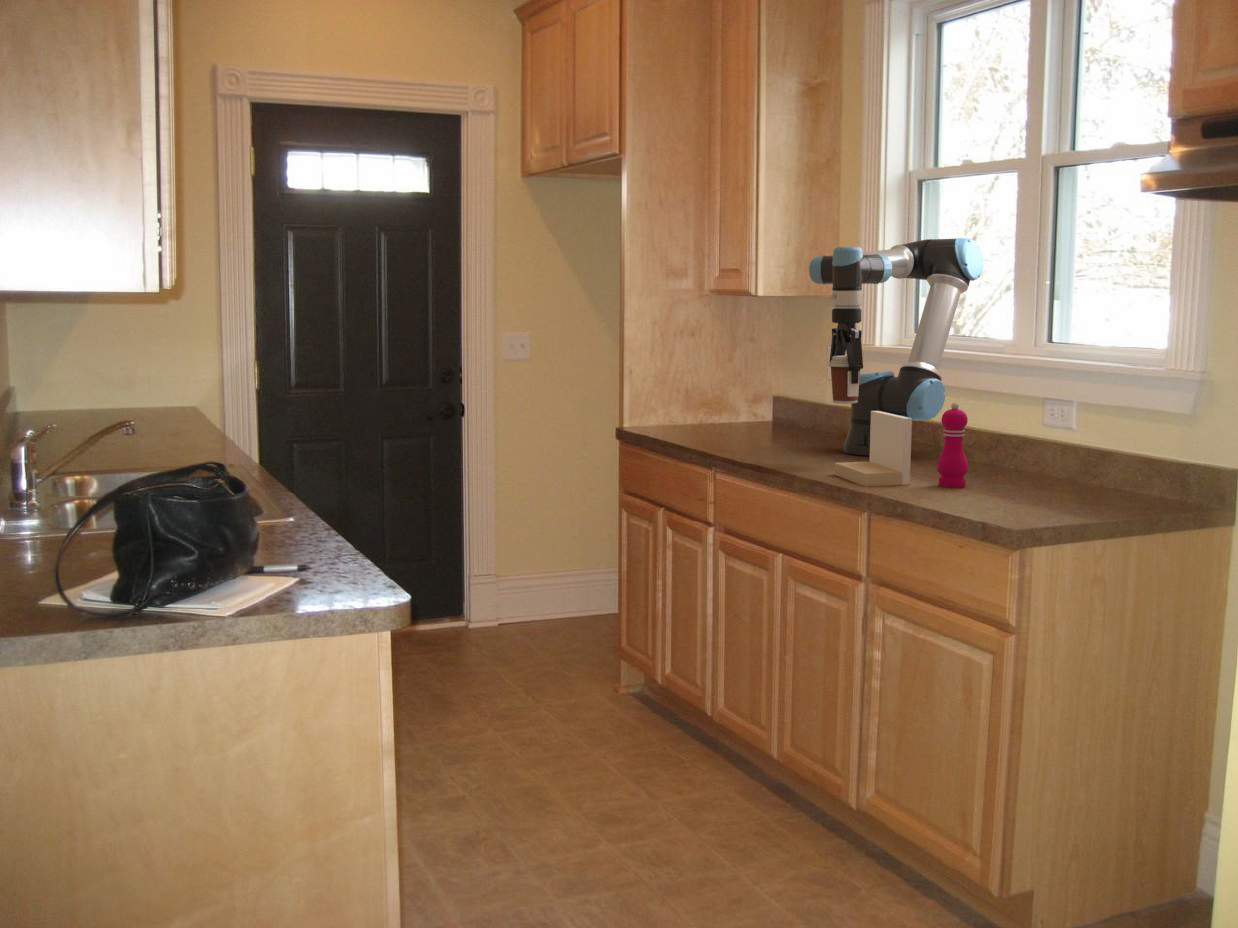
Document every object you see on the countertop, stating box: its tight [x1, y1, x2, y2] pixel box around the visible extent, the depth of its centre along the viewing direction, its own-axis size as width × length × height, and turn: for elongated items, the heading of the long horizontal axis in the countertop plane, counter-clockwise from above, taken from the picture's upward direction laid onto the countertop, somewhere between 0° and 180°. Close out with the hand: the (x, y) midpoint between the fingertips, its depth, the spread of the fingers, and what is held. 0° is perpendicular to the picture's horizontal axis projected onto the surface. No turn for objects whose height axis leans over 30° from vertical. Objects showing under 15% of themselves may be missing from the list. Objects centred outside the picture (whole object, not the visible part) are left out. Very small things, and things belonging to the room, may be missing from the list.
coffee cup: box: [827, 354, 862, 405], centre depth 320 cm, size 9×9×12 cm
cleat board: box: [833, 411, 913, 487], centre depth 303 cm, size 12×19×16 cm, turn 13°
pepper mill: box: [936, 402, 969, 489], centre depth 293 cm, size 7×7×20 cm
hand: (845, 394), depth 321 cm, fingers closed on coffee cup, 9 cm apart
